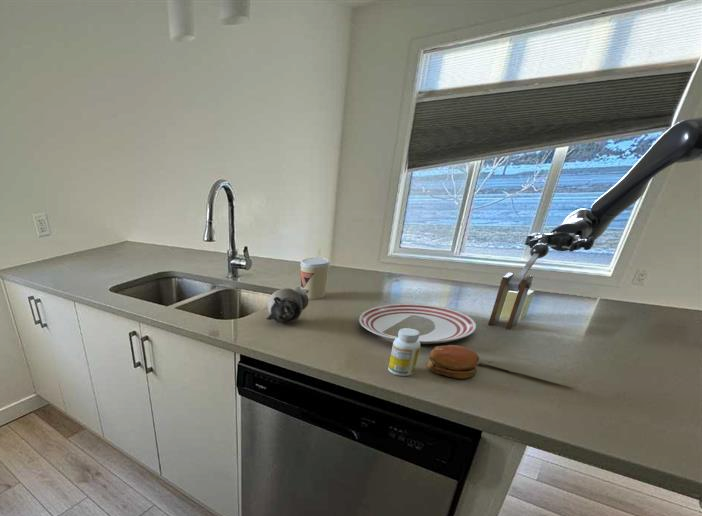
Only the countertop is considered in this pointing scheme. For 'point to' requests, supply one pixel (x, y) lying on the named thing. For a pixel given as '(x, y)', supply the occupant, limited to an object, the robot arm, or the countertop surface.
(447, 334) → the dinner plate
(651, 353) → the countertop surface
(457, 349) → the burger
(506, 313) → the butter
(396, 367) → the supplement bottle
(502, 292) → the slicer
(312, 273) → the coffee cup
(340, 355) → the countertop surface
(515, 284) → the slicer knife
